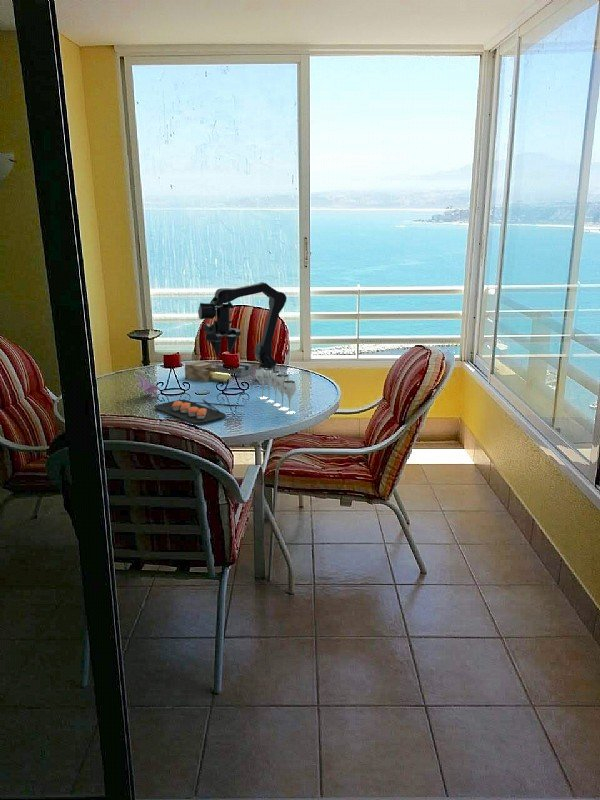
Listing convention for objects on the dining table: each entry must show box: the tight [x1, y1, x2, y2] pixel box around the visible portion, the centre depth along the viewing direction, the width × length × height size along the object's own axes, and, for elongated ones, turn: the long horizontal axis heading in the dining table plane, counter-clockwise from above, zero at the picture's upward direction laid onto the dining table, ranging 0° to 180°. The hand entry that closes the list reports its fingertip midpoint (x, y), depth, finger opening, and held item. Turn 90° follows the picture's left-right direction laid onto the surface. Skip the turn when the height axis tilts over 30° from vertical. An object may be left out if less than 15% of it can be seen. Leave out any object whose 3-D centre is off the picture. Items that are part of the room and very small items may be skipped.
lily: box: [134, 373, 161, 401], centre depth 252 cm, size 12×12×10 cm
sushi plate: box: [154, 398, 245, 425], centre depth 239 cm, size 29×30×4 cm
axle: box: [209, 371, 233, 383], centre depth 282 cm, size 16×4×4 cm, turn 62°
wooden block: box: [184, 360, 217, 383], centre depth 284 cm, size 12×8×6 cm, turn 62°
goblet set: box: [255, 367, 297, 415], centre depth 245 cm, size 28×6×13 cm, turn 29°
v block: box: [215, 362, 254, 378], centre depth 295 cm, size 14×10×4 cm
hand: (223, 353), depth 276 cm, fingers open, 9 cm apart
